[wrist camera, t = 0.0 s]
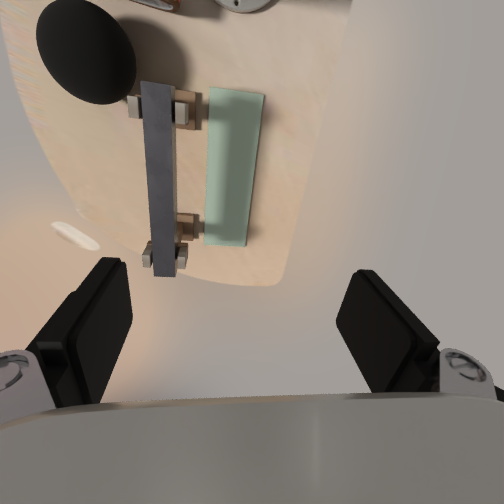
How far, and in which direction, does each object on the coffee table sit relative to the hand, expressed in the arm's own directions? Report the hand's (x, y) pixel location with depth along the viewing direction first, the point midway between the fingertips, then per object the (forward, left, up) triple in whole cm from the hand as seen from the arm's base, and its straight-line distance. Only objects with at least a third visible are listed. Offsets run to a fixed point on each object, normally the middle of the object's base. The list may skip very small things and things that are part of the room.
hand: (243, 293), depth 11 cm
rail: (+4, -8, -27) cm, 28 cm away
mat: (+4, +1, -37) cm, 37 cm away
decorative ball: (-10, -17, -37) cm, 42 cm away
